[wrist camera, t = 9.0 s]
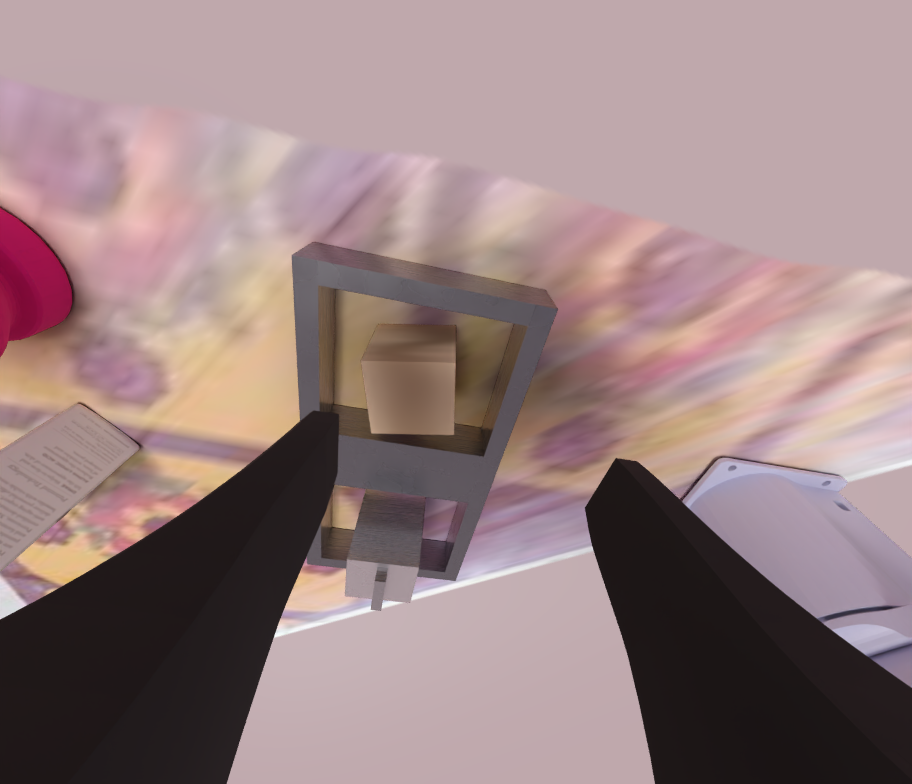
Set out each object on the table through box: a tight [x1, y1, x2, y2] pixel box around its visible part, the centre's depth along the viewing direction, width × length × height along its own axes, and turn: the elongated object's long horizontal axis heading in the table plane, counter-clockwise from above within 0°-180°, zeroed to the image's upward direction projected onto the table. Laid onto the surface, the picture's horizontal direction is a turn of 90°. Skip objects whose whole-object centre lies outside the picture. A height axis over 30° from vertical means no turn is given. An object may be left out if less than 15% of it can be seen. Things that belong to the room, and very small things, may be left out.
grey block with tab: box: [345, 489, 426, 611], centre depth 23 cm, size 4×4×7 cm
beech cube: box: [361, 324, 456, 435], centre depth 18 cm, size 4×4×4 cm
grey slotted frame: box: [292, 242, 558, 581], centre depth 22 cm, size 11×22×2 cm, turn 169°
